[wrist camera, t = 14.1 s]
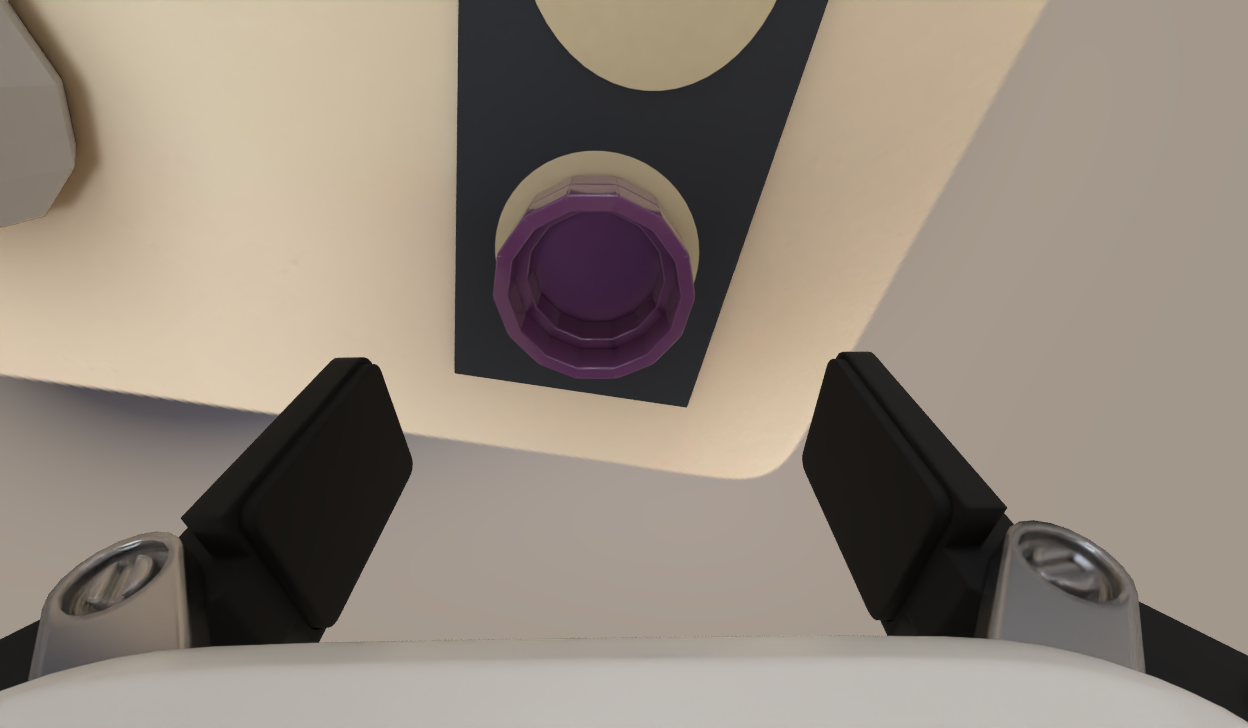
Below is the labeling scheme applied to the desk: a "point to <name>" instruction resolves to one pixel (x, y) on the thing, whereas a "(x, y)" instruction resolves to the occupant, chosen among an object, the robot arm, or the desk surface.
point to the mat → (618, 145)
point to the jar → (30, 125)
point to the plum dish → (594, 279)
